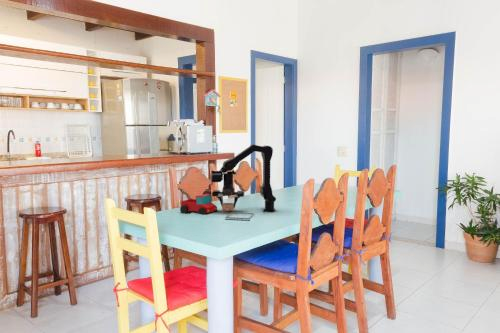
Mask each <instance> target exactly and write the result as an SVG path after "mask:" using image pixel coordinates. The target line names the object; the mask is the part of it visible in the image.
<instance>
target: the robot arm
mask: <svg viewBox="0 0 500 333" xmlns="http://www.w3.org/2000/svg"><path fill="white" fill-rule="evenodd" d="M255 152H257V153H261V158H262V185H261V186H259V194H260V196H261V197H262V198H263V200H264V209H263V212H270V213H271V212H272V213H273V212H275V211H276V208H275V202H276V200H277V198H276V196H274V195H273V190H272V189H273V188H272V185H271V160H272V157H273V153H274V149H273V147H272V146H271V145H263V146H262V145H257V144H250V145H249V146H248V147H247V148H245V149H244V150H243V151H241V152H239V153H238V154H237V155H236V156H234V157H231V158H229V159H227V160H224V161H223V162H222V166H221V168H220V170H211V173H210V183H221V182H222V181H223V186H222V190H220V189H218V190H217V189H216V190H213V191H212V193H211V197H216V198H217V199H218V200H219V202H220V205H221V206H220V207H222V204H223V203H224V198H223V197H230V196H234V199H233V201H234V202H233V203H234V209H235V207H236V205H237V201H238V200H239V199H240V198H243V197H244V196H245V191H244V190H237V191H235V187H234V175H237V174H238V173H237V172H236V171H235V170H234V169H235V168H236V167H237V165H238V164H239V163H240V162H241V161H243V160H245V159H246V158H247V157H249V156H250V155H251V154H253V153H255Z"/></svg>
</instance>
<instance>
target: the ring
mask: <svg viewBox="0 0 500 333" xmlns="http://www.w3.org/2000/svg"><path fill="white" fill-rule="evenodd" d="M227 204H230V205H227ZM221 210H225V211H229V210H235V208H234V202H223V204H222V206H221Z"/></svg>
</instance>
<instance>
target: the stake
mask: <svg viewBox="0 0 500 333" xmlns="http://www.w3.org/2000/svg"><path fill="white" fill-rule="evenodd" d="M227 205H230V204H227ZM231 212H238V211H237V209H234V210H229V211H225V210H222V209H221V210H220V213H224V214H230V213H231Z"/></svg>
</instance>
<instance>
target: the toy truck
mask: <svg viewBox="0 0 500 333" xmlns="http://www.w3.org/2000/svg"><path fill="white" fill-rule="evenodd" d="M179 210H180V213H181V214H184V213H185V214H188V212H198V215H202V216H205V215H207V214H209V213H212V212H214V213H217V212H218V207H217V205H216V204H215V203H213V201H212V193H211V194H210V193H209V194H208V193H203V194H199V195H196V196H195V199H194V198H193V199H192V198H190V199H185V200H181V201H180V207H179Z"/></svg>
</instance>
